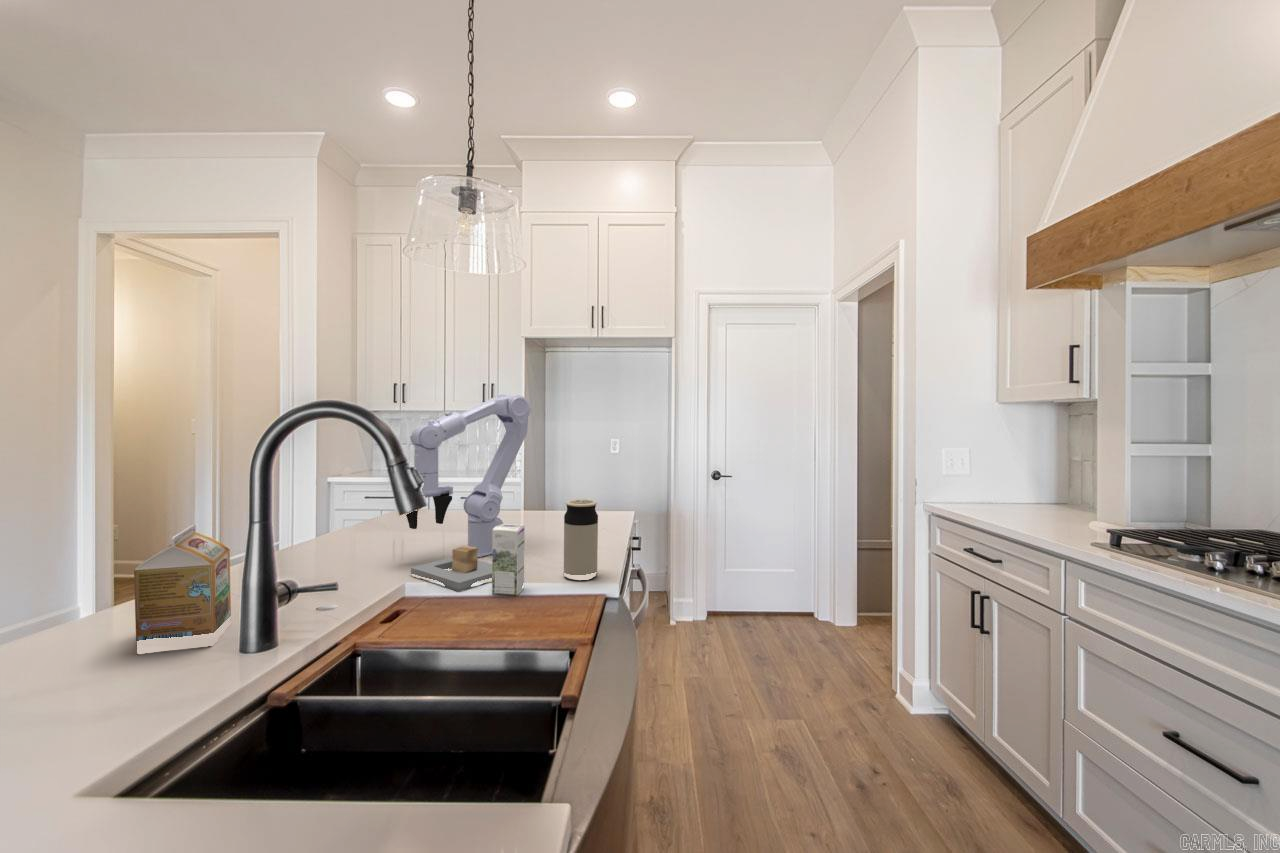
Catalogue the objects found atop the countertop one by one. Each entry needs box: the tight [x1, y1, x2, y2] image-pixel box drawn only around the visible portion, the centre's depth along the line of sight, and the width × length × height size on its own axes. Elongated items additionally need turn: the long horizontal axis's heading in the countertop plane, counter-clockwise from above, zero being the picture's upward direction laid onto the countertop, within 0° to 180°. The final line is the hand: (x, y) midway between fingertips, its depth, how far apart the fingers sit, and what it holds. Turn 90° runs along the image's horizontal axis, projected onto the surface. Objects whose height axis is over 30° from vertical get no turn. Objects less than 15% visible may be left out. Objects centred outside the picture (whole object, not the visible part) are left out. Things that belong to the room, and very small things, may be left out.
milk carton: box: [133, 524, 232, 642], centre depth 104 cm, size 11×11×19 cm
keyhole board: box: [410, 556, 492, 593], centre depth 142 cm, size 14×18×2 cm
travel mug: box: [563, 498, 599, 575], centre depth 143 cm, size 8×8×18 cm
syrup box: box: [491, 523, 526, 596], centre depth 132 cm, size 6×6×14 cm
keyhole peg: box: [451, 545, 478, 573], centre depth 141 cm, size 4×4×6 cm
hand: (426, 525), depth 153 cm, fingers open, 7 cm apart
